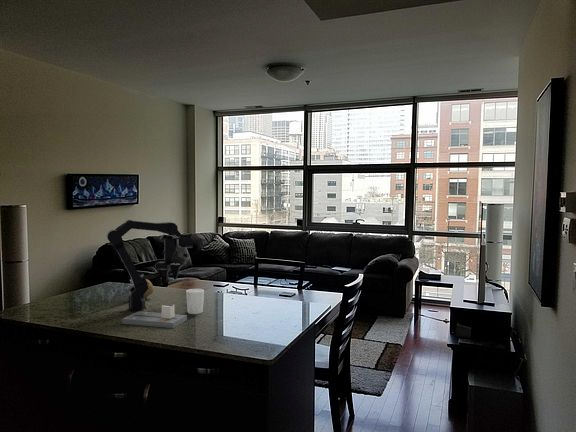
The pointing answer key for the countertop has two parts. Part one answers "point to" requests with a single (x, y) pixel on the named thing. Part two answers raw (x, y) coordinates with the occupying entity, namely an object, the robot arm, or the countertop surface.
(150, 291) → the natural sponge
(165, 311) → the fader cap
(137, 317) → the slider track base
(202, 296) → the white cup
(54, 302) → the countertop surface
